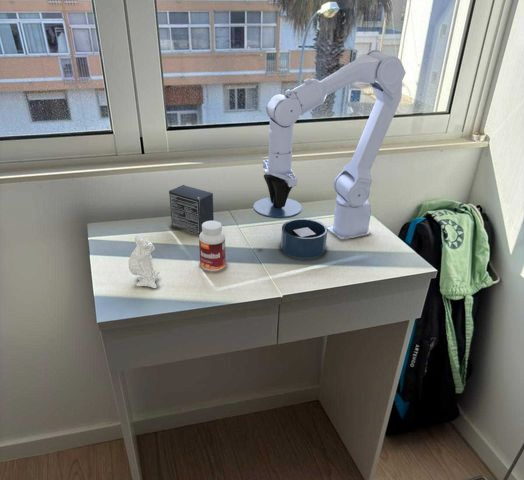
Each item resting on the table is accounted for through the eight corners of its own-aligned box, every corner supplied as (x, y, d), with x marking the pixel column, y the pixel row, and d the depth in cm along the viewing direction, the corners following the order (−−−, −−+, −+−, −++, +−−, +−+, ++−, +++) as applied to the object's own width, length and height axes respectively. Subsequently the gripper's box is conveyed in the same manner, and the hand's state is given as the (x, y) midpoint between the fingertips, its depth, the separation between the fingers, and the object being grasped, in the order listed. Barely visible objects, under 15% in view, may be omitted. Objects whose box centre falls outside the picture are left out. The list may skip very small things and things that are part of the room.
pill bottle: (197, 271, 125) (195, 229, 118) (203, 259, 130) (201, 218, 123) (223, 273, 125) (221, 231, 118) (227, 261, 129) (227, 220, 123)
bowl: (310, 236, 142) (312, 215, 138) (333, 254, 134) (336, 233, 130) (273, 243, 138) (274, 223, 134) (294, 263, 130) (296, 242, 126)
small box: (215, 228, 144) (214, 192, 137) (201, 237, 139) (199, 200, 133) (185, 219, 148) (183, 183, 141) (170, 227, 144) (167, 190, 137)
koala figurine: (165, 288, 118) (160, 241, 111) (136, 294, 116) (129, 246, 109) (156, 271, 124) (151, 225, 117) (128, 276, 122) (121, 229, 115)
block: (306, 242, 138) (307, 227, 135) (314, 249, 135) (316, 234, 132) (291, 245, 136) (292, 230, 133) (299, 253, 133) (301, 237, 130)
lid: (287, 197, 140) (288, 180, 138) (310, 215, 132) (312, 198, 129) (245, 205, 136) (245, 187, 133) (266, 224, 127) (267, 206, 124)
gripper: (252, 143, 128) (251, 196, 136) (279, 162, 118) (277, 218, 126) (277, 140, 130) (275, 192, 139) (306, 158, 120) (302, 213, 129)
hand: (277, 204), depth 133 cm, fingers closed on lid, 2 cm apart
